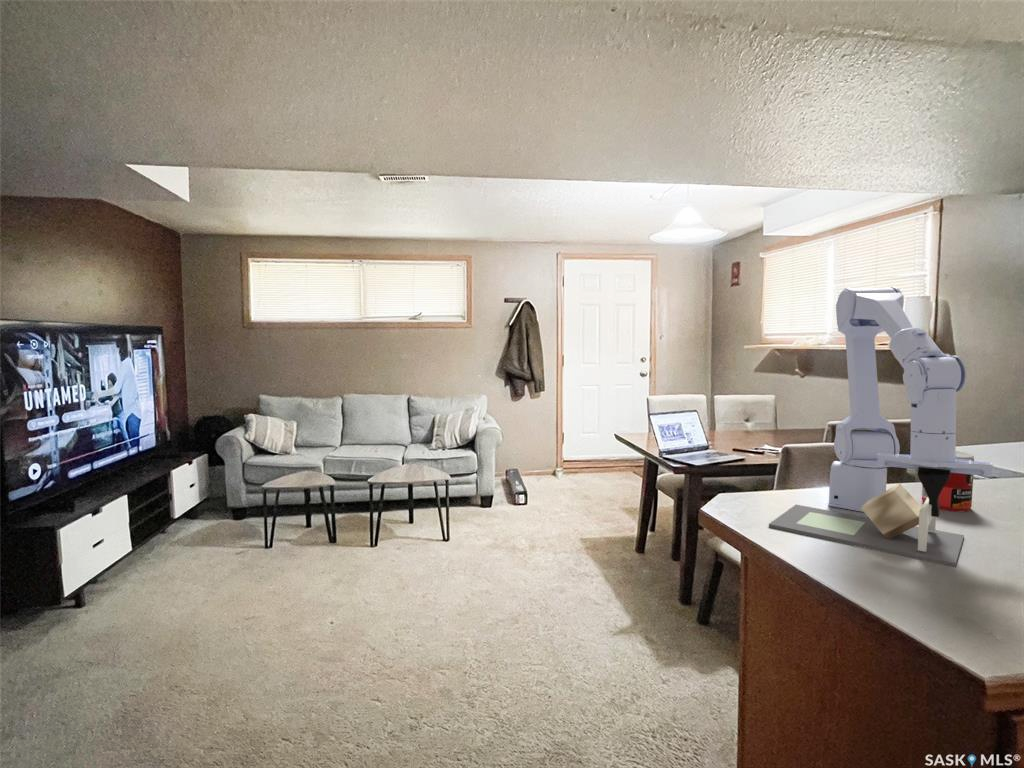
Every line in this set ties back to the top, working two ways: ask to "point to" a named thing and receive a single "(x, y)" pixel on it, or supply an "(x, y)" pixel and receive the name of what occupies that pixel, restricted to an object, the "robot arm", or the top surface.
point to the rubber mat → (868, 534)
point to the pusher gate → (925, 525)
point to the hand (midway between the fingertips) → (931, 514)
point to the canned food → (956, 489)
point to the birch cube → (893, 511)
